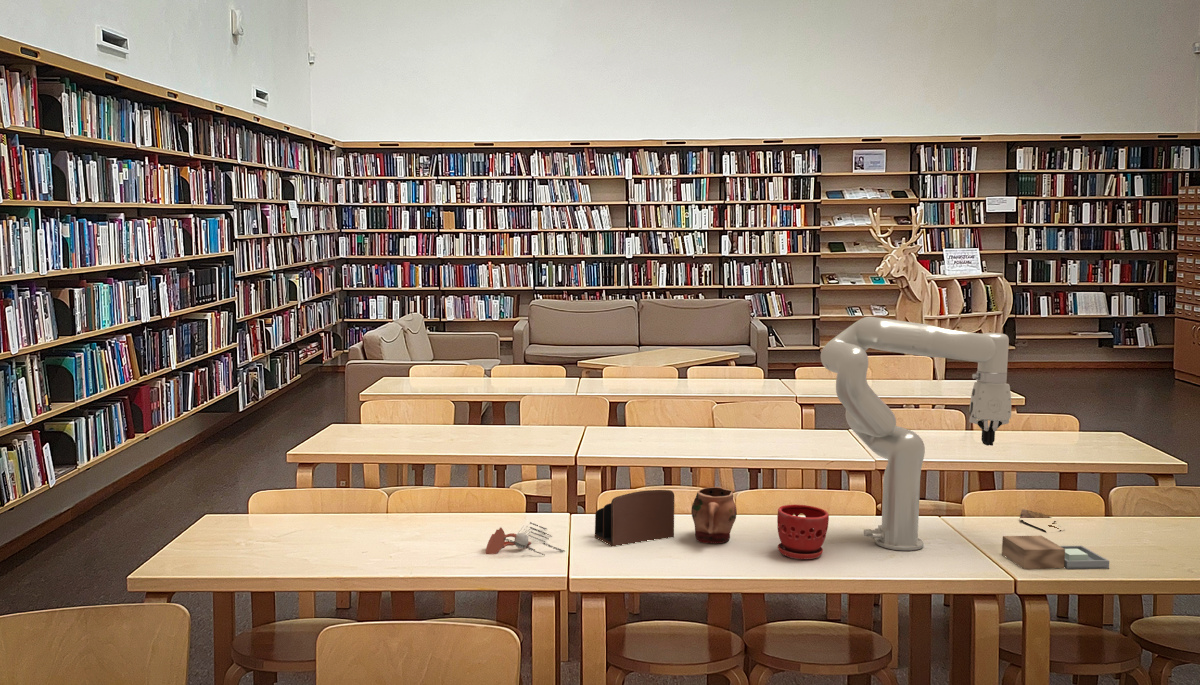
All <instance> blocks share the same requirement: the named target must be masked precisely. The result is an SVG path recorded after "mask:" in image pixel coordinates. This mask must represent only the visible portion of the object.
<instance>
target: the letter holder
mask: <svg viewBox="0 0 1200 685" xmlns="http://www.w3.org/2000/svg"><path fill="white" fill-rule="evenodd" d="M594 521H595V522H594V538H595V537H597V538H599V539H601V540H603V541H604V542H606V543H608V544H610V545H611V547H612V546H614V547H617V546H616V545H620V546H623V545H622V544H627V545H629V544H628V543H633V544H636V543H635V542H640V543H642V542H641V541H646V542H648V541H647V540H653V541H655V540H654V539H659V540H662V539H661V538H666V539H669V538H668V537H673V538H674V537H675V493H674V491H672V490H668V489H651V490H650V489H649V490H641V491H640V490H639V491H633V492H631V493H626V494H622V495H618V496H615V497H613V498H612V500H611V503H607V504H605V505H604V506H603V507H601V508H599V509H597V510H596V511H595V520H594ZM597 538H596V539H597ZM599 539H598V540H599ZM601 540H600V541H601ZM603 541H602V542H603ZM604 542H603V543H604ZM606 543H605V544H606ZM608 544H607V545H608ZM610 545H609V546H610Z"/></svg>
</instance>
